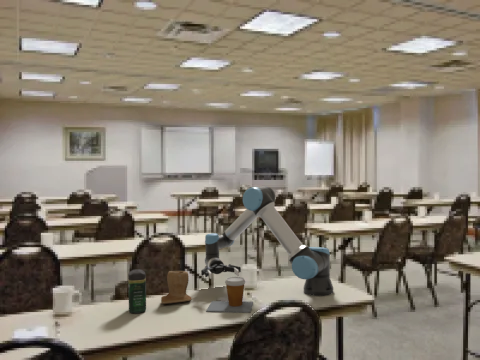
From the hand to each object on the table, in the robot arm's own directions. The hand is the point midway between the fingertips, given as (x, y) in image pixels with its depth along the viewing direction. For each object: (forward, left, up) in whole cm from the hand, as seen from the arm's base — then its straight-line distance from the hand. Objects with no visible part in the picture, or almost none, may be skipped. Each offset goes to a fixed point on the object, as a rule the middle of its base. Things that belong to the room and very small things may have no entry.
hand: (224, 274), depth 210 cm
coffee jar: (+38, +16, -13) cm, 43 cm away
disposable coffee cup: (-6, +7, -13) cm, 15 cm away
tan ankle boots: (+24, +2, -13) cm, 28 cm away
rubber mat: (-4, +9, -13) cm, 16 cm away
